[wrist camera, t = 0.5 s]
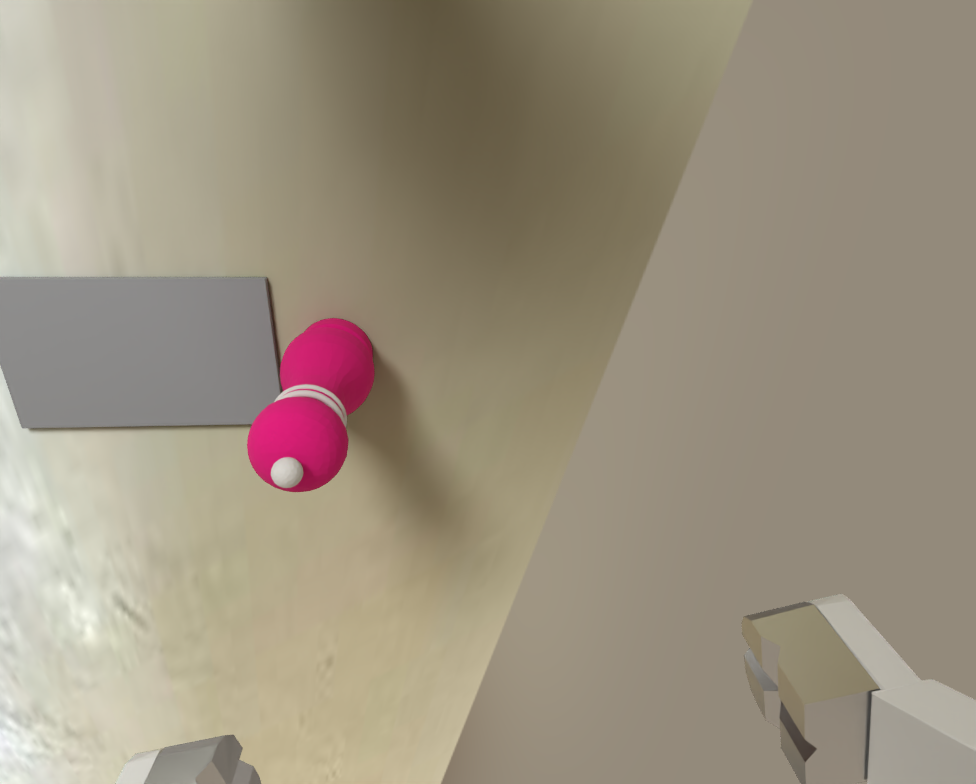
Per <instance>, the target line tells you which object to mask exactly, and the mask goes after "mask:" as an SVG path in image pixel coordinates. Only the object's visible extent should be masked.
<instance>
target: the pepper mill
mask: <svg viewBox="0 0 976 784" xmlns="http://www.w3.org/2000/svg"><path fill="white" fill-rule="evenodd" d="M280 380H281V385H282V389H283V392H282V393H281V394H280V395H279V396H278V397H277V398H276V400H275V401H274V403H272V404H270V405H268V406H267V407H266V408H265V409H264V410H262V411H261V412H260V414H259V415H258V416H257V417H256V419H255V420H254V422H253V423H252V426H251V429H250V432H249V435H248V443H247V448H248V456H249V459H250V462H251V464H252V466H253V468H254V470H255V471H256V473H257V474H258V475H259V476H260V477H261V478H262V479H263V480H264V481H265V482H267V483H268V484H270V485H272V486H274V487H275V488H278V489H281V490H284V491H290V492H304V491H311V490H314V489H317V488H319V487H321V486H323V485H325V484H326V483H328V482H329V481H330V480H331V479H332V478H333V477H334V476H335V475H336V474H337V473H338V472H339V470H340V469H341V467H342V465H343V463H344V461H345V458H346V456H347V450H348V436H347V432H346V426H347V415H349V414H351V413H352V412H353V411H355V410H356V409H357V408H358V407H359V406H360V405H361V404H362V403H363V402H364V401H365V399H366V398H367V396H368V394H369V392H370V390H371V388H372V385H373V382H374V364H373V350H372V346H371V343H370V341H369V339H368V337H367V335H366V334H365V333H364V332H363V331H362V330H361V329H360V328H359V327H358V326H356V325H355V324H353V323H351V322H349V321H346V320H343V319H336V318H330V319H324V320H320V321H318V322H316V323H314V324H312V325H311V326H310V327H308V328H307V329H306V331H305V332H304V333H302V334H301V335H299V336H298V337H296V338H295V339H294V340H293V341H292V342H291V343H290V344H289V346H288V347H287V349H286V351H285V353H284V356H283V359H282V362H281V366H280Z"/></svg>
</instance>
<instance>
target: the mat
mask: <svg viewBox="0 0 976 784" xmlns="http://www.w3.org/2000/svg"><path fill="white" fill-rule="evenodd" d="M0 365H1V368H2V371H3V374H4V377H5V380H6V383H7V386H8V389H9V392H10V394H11V397H12V400H13V403H14V406H15V409H16V412H17V415H18V418H19V421H20V424H21V427H22V428H64V427H120V426H176V425H232V424H252V423H253V422H254V420H255V419H256V417H257V416H258V415H259V414H260V412H261V411H262V410H264V409H265V408H266V407H267V406H268V405H270V404H272V403H274V401H275V400H276V398H277V397H278V396H279V395H280V394H281V393H282V388H281V381H280V373H279V366H278V358H277V351H276V343H275V336H274V328H273V321H272V313H271V306H270V298H269V291H268V283H267V277H0Z"/></svg>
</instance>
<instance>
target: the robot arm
mask: <svg viewBox="0 0 976 784" xmlns="http://www.w3.org/2000/svg"><path fill="white" fill-rule="evenodd" d="M742 634H743V637H744V638H745V640H746V642H747V643H748V645H749V647H750V648H749V650H748V651H747V652H746V654H745V655H744V660H745V669H746V674H747V678H748V681H749V684H750V688H751V691H752V693H753V696H754V698H755V700H756V703H757V705H758V707H759V709H760V710H761V712H762V714H763V716H764V718H765V720H766V721H768V722H769V723H771V724H773V725H774V726H776V727H777V728H779V729H780V737H781V749H782V751H783V752H784V754H785V756H786V758H787V760H788V761H789V763H790V765H791V767H792V769H793V770H794V772H795V774H796V776H797V778H798V779H799V781H800V783H801V784H857V783H862V782H867V784H976V700H974V699H972V698H970V697H968V696H966V695H964V694H962V693H960V692H958V691H956V690H954V689H952V688H950V687H948V686H946V685H944V684H941V683H940V682H937V681H935V680H933V679H929V680H924V681H921V680H920V679H919V677H918V676H917V675H916V674H915V673H914V672H913V671H912V669H911V668H910V667H909V666H908V665H907V664H906V663H905V662H904V661H903V659H902V658H901V657H900V656H899V655H898V654H897V652H896V651H895V650H894V649H893V648H892V647H891V646H890V644H889V643H888V642H887V641H886V640H885V639H884V638H883V637H882V635H881V634H880V633H879V632H878V631H877V630H876V629H875V628H874V626H873V625H872V624H871V623H870V622H869V621H868V620H867V619H866V617H865V616H864V615H863V614H862V613H861V612H860V610H859V609H858V608H857V607H856V606H855V605H854V604H853V602H852V601H851V600H850V599H849V598H848V597H846V596H844V595H842V594H839V595H834V596H830V597H825V598H821V599H816V600H812V601H808V602H802V603H798V604H793V605H789V606H785V607H781V608H777V609H773V610H768V611H764V612H760V613H756V614H752V615H748V616H744V617H743V620H742ZM242 749H243V748H242V746H241V745H240V743H239V742H238V741H237V739H236V738H235V736H234V735H225V736H220V737H215V738H210V739H205V740H200V741H195V742H190V743H185V744H179V745H174V746H169V747H165V748H161V749H156V750H152V751H147V752H142V753H137V754H135V755H134V756H133V757H132V758H131V759H130V760H129V761H127V762H126V763H125V765H124V767H123V769H122V771H121V773H120V775H119V777H118V779H117V781H116V783H115V784H261V781H260V777H259V775H258V774H257V772H256V770H255V768H254V767H253V766H251V765H249V764H247V763H245V762H243V761H241V760H239V758H240V755H241V752H242Z"/></svg>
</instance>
